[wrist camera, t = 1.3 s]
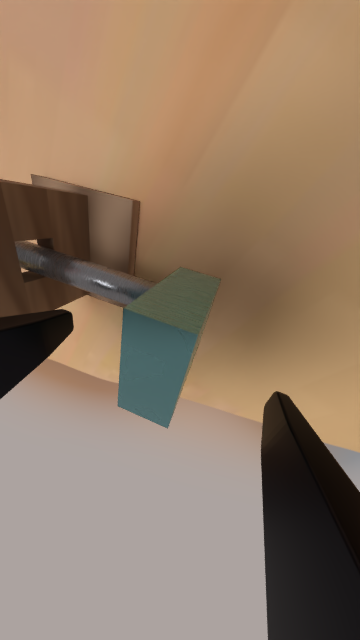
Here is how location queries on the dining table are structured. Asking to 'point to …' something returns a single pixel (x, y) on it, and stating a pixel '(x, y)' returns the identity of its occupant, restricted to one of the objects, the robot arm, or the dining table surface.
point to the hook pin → (141, 324)
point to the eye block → (61, 238)
